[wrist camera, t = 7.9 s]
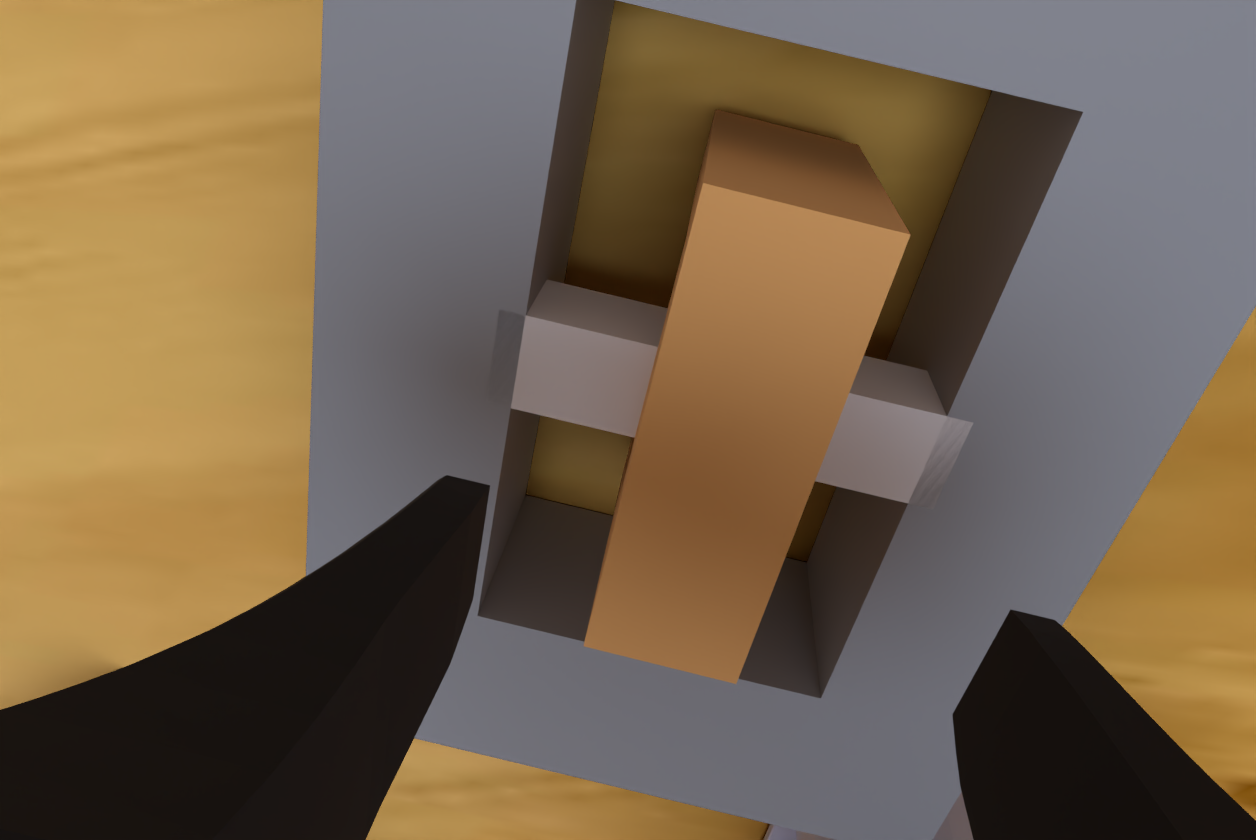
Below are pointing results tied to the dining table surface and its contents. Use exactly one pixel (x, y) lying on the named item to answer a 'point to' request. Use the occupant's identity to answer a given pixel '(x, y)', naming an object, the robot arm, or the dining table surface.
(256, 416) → the dining table surface
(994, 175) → the grey rectangular frame
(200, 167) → the dining table surface
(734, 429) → the toy arch block
